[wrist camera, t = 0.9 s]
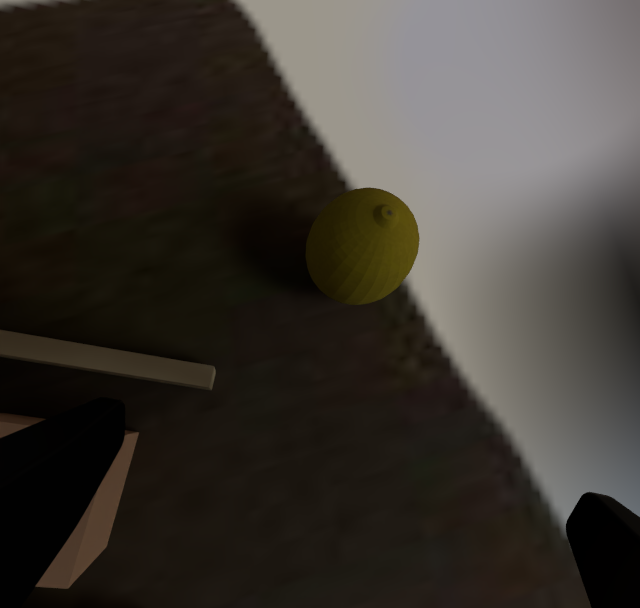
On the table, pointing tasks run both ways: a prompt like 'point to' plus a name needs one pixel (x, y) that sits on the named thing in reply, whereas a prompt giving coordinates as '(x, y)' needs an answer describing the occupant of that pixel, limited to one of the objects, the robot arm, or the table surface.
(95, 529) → the block
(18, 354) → the box
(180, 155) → the table surface
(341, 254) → the lemon
